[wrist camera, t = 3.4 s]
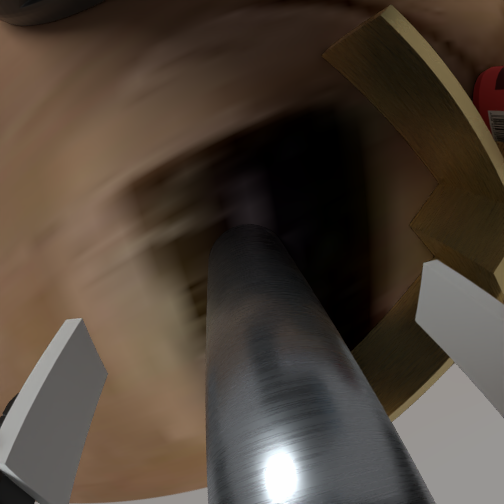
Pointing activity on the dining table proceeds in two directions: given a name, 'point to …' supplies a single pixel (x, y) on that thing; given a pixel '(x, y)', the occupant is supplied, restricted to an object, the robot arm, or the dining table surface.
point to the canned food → (491, 100)
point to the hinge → (440, 201)
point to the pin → (289, 391)
